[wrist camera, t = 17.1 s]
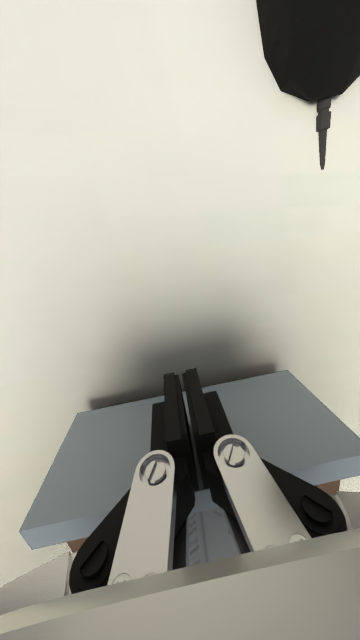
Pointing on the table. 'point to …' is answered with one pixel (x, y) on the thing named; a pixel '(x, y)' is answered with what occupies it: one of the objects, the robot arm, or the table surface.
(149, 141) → the table surface
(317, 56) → the gaming mouse
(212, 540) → the skincare box
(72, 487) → the tray
